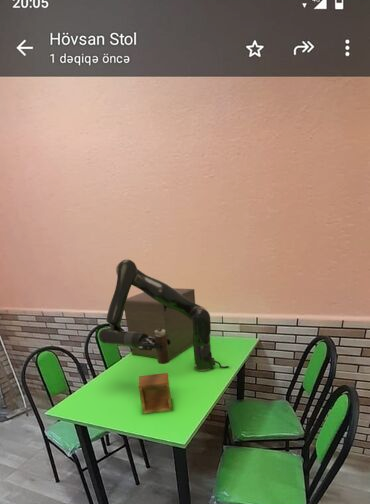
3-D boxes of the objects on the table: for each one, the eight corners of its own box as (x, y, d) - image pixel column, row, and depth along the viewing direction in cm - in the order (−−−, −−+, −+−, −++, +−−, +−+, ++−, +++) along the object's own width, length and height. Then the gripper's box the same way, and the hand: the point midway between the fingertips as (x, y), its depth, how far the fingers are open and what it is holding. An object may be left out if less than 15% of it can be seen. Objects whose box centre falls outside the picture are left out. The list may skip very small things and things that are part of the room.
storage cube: (169, 361, 199) (162, 302, 182) (132, 354, 214) (122, 299, 196) (198, 341, 224) (194, 288, 206) (162, 337, 238) (156, 287, 220)
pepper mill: (169, 358, 154) (165, 326, 146) (169, 363, 149) (166, 329, 141) (157, 360, 154) (153, 327, 146) (157, 364, 149) (153, 331, 141)
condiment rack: (171, 399, 158) (167, 372, 151) (172, 410, 150) (168, 382, 143) (143, 402, 158) (139, 376, 151) (143, 413, 150) (138, 385, 142)
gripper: (124, 337, 147) (155, 341, 139) (144, 327, 157) (174, 331, 149) (127, 353, 151) (158, 358, 143) (146, 342, 161) (175, 346, 153)
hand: (166, 344), depth 146 cm, fingers closed on pepper mill, 5 cm apart
